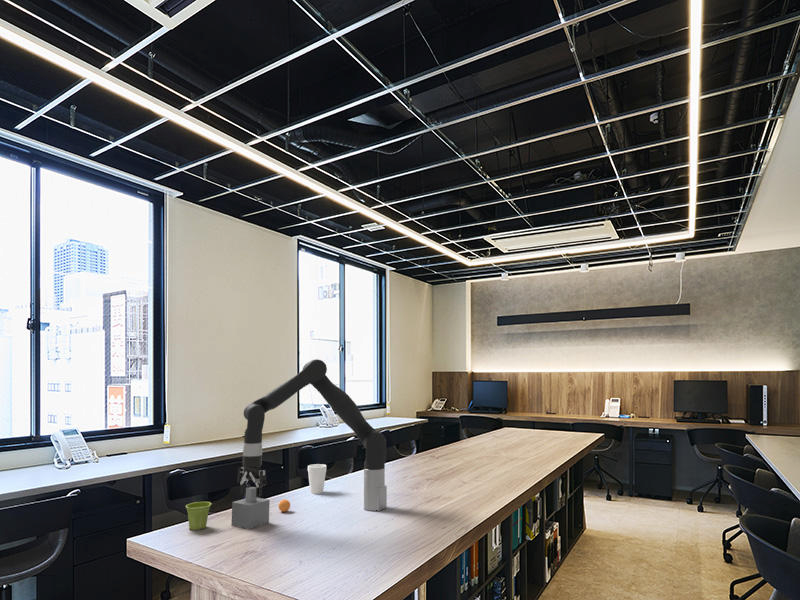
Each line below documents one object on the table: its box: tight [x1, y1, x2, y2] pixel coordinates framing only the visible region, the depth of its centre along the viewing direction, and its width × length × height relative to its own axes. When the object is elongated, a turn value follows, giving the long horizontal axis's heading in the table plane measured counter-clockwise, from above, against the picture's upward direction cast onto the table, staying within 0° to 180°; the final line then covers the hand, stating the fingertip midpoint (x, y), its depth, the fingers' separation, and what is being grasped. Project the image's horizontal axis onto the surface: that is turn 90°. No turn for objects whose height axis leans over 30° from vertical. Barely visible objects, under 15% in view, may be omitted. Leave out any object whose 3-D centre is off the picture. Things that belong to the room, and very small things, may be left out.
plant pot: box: [185, 501, 212, 531], centre depth 198 cm, size 9×9×9 cm
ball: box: [278, 499, 291, 513], centre depth 220 cm, size 5×5×5 cm
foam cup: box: [307, 463, 327, 495], centre depth 255 cm, size 10×9×13 cm
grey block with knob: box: [230, 486, 271, 530], centre depth 203 cm, size 10×10×14 cm
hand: (251, 495), depth 204 cm, fingers open, 8 cm apart
